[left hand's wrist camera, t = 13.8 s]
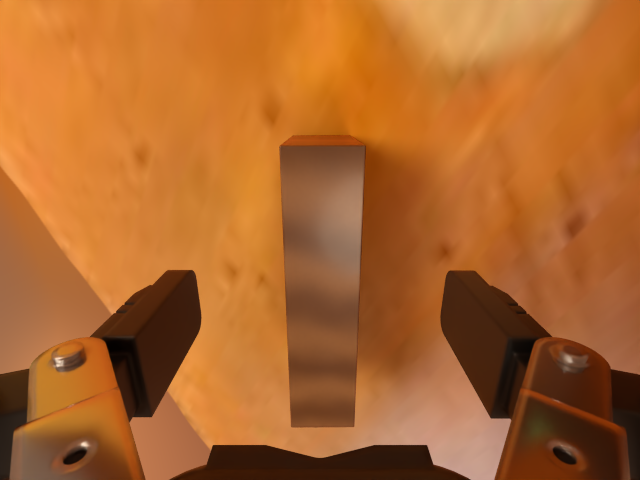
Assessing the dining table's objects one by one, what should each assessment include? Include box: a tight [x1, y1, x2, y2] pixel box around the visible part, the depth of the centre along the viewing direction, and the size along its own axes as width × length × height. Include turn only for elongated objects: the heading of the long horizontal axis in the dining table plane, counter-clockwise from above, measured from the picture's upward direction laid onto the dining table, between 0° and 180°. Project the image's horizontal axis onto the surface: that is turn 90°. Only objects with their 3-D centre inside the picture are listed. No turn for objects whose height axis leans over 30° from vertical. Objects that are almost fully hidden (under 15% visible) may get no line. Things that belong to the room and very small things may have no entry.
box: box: [279, 135, 366, 427], centre depth 33 cm, size 25×6×12 cm, turn 0°
